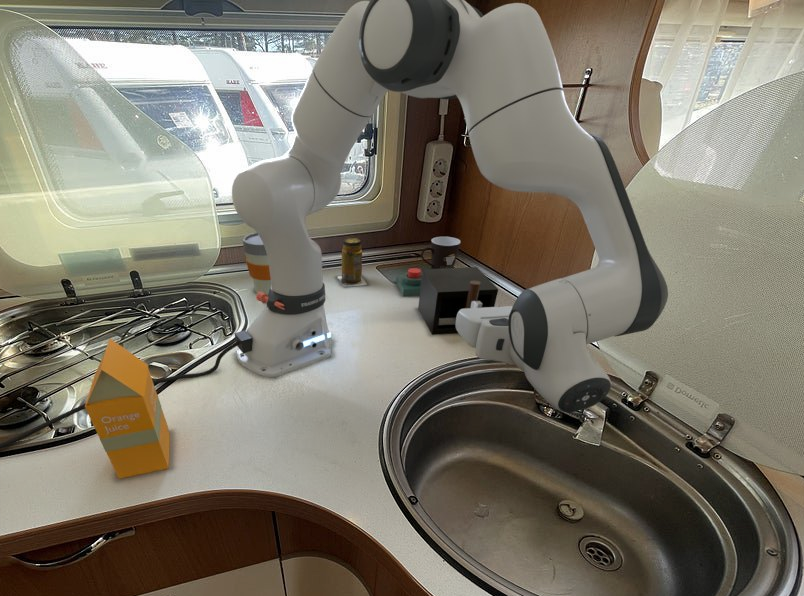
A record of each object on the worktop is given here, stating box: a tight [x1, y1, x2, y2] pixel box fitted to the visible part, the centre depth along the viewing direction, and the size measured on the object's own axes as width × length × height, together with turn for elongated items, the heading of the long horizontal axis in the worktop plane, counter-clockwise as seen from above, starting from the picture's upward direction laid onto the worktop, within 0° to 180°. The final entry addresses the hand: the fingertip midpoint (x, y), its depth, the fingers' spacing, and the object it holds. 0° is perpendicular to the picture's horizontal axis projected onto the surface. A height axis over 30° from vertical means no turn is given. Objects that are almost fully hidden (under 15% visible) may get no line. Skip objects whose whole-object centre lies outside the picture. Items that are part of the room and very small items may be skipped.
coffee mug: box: [420, 236, 461, 269], centre depth 130 cm, size 12×9×10 cm
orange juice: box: [85, 337, 171, 480], centre depth 64 cm, size 8×9×20 cm
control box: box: [395, 271, 422, 297], centre depth 122 cm, size 10×8×4 cm
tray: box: [438, 281, 481, 325], centre depth 100 cm, size 16×11×12 cm
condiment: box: [336, 237, 368, 288], centre depth 125 cm, size 7×8×12 cm
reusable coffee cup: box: [242, 232, 271, 295], centre depth 120 cm, size 13×13×15 cm
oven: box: [417, 266, 499, 336], centre depth 104 cm, size 14×14×11 cm
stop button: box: [407, 267, 422, 279], centre depth 120 cm, size 4×4×2 cm
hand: (498, 303), depth 80 cm, fingers open, 8 cm apart
